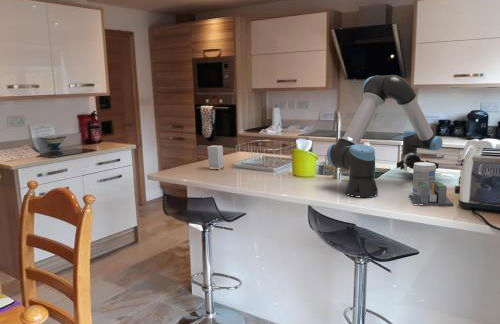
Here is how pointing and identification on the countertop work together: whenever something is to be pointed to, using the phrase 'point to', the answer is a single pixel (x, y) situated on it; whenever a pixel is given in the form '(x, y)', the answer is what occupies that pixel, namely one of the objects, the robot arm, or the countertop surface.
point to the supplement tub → (423, 173)
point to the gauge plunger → (430, 190)
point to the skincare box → (215, 156)
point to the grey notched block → (423, 195)
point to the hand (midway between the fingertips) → (420, 168)
